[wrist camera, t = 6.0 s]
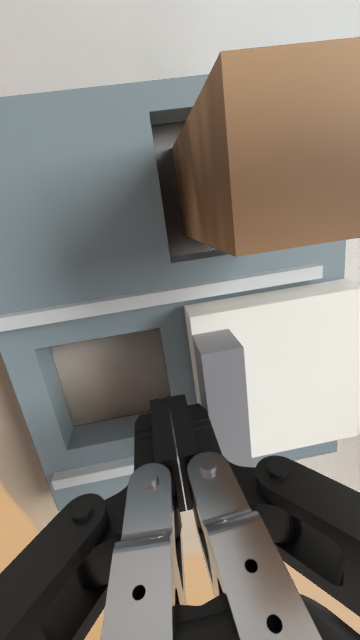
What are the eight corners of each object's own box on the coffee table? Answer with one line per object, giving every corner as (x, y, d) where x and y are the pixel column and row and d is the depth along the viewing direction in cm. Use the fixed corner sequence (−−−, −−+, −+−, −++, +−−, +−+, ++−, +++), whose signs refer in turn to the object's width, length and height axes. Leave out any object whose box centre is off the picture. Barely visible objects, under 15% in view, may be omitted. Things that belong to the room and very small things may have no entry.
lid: (183, 305, 15) (198, 334, 11) (343, 278, 15) (407, 298, 12) (202, 442, 17) (219, 501, 14) (338, 414, 18) (388, 464, 14)
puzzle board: (-57, 122, 13) (-101, 101, 11) (325, 79, 14) (363, 51, 12) (65, 482, 20) (55, 520, 17) (318, 430, 21) (342, 458, 19)
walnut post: (172, 147, 14) (221, 51, 6) (254, 137, 15) (410, 31, 6) (183, 235, 16) (236, 256, 7) (258, 223, 16) (392, 232, 8)
